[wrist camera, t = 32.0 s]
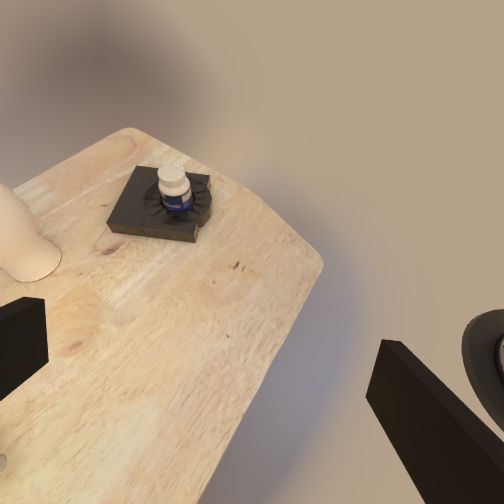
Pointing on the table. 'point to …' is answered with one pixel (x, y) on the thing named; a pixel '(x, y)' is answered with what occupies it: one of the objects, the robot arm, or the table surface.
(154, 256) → the table surface
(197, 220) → the bottle holder base
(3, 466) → the beige blocky figure
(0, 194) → the cup
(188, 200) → the pill bottle
